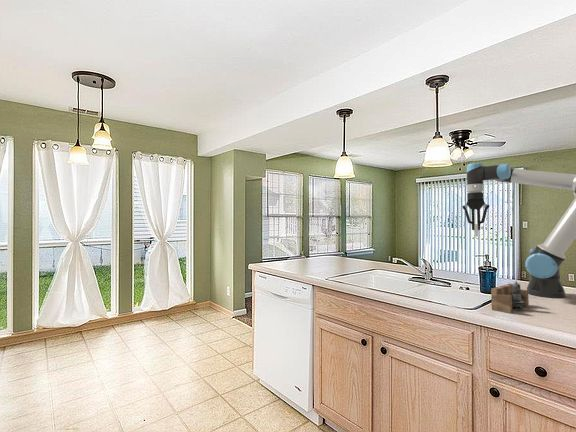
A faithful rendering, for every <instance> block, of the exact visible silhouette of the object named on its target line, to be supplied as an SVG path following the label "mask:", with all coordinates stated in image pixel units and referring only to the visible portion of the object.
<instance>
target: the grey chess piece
mask: <svg viewBox="0 0 576 432" xmlns="http://www.w3.org/2000/svg"><path fill="white" fill-rule="evenodd" d="M511 284H512V291H511V292H512V311H519V312H523V311H525V308H523V306H524V303H525V301H523V300H522V299H521V293H522V292H520V289H521V284H519V283H518V281H517V280H516V281H515V282H514V283H511Z"/></svg>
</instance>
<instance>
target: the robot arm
mask: <svg viewBox="0 0 576 432" xmlns="http://www.w3.org/2000/svg"><path fill="white" fill-rule="evenodd" d="M485 181H496V182H499V183H508V184H509V183H512V184H519V185H528V186H536V187H544V188H552V189H559V190H560V189H562V190H569V191H572V192H573V196H574V199H573V200H572V201H571V203H570V204H569V206H568V208H567V209H566V210H565V212H564V213H563V214H562V216H561V217H560V219H559V221H558V222H557V223H556V225H555V227H554V228H553V229H551V232H550V233H549V235H548V236H547V237H546V239H545V240H544V242H543V243H540V244H537V245H536V246H535V247H533V248H531V249H530V250H529V256H528V257H526V260H525V262H524V264H525V269H526V271H527V272H528V273H529V275H530V279H529V281H528V285H527V287H526V290H528V295H532V296H535V297H537V296H538V297H544V298H557V299H558V298H564V297H566V291H565V289H564V286H563V284H562V281H561V271H560V270H561V269H560V267H561V265H562V264H563V263H564V261H565V260H566V259H567V258H566V255H565V253H566V252H567V251H568V249H569V248H570V246H571V245H572V243H573V242H574V241H575V239H576V174H574V173H565V172H564V173H562V172H553V171H543V170H531V169H519V168H511V166H510V164H509V163H503V164H502V163H500V164H494V165H493V164H492V165H484V163H482V162H473V163H469V164H467V166H466V192H467V198H466V199H467V201H466V204H464V205H462V206H461V207H462V209H463V210H464V213H465V216H466V220H467V223H468V224H471V230H472V231H473V233H474V237H479V231H480V230H481V224H483V223H485V220H486V216H487V212H488V209H489V207H490V204H487V203H486V202H485V201H484V199H485V198H484V197H485V196H484V182H485ZM468 208H469V209H470V210H471V218H470V215H469V212H468ZM482 208H484V209H483V213H482V217H481V209H482ZM475 210H476V216H475ZM475 217H476V221H475ZM475 222H477V223H475Z"/></svg>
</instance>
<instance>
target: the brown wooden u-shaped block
mask: <svg viewBox="0 0 576 432" xmlns="http://www.w3.org/2000/svg"><path fill="white" fill-rule="evenodd" d="M512 284H513V283H507V284H503V285H500V286H496V287H492V288H490V291H491V292H490V293H491V295H490V296H491V310H492V311H496V312H501V313H505V314H513V310H512V307H513V306H512V292H511V291H512ZM520 292H522V293H521V299H522V300H523V301H525V303H524V306H522V308H523V307H524V308H528V307H529V305H530V304H529V303H530V302H529V300H530V299H529V293H528V290H527V289H521V288H520Z"/></svg>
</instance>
